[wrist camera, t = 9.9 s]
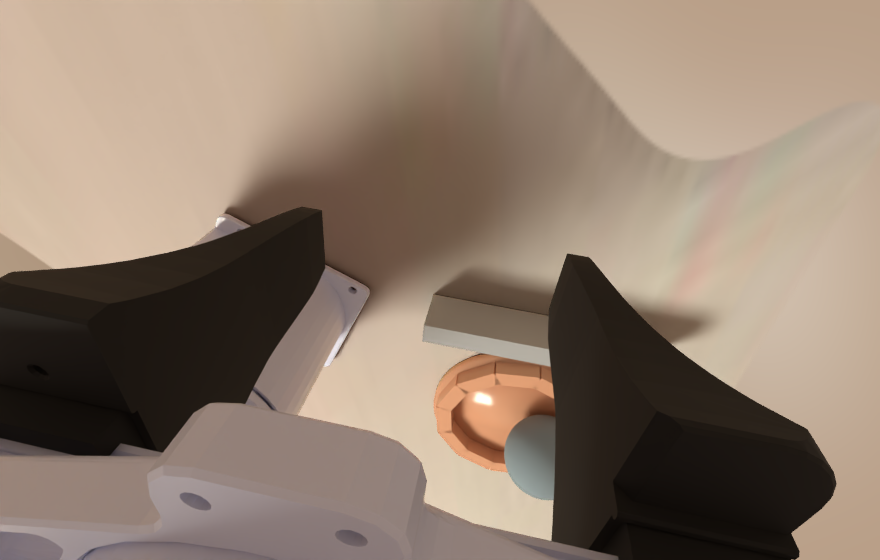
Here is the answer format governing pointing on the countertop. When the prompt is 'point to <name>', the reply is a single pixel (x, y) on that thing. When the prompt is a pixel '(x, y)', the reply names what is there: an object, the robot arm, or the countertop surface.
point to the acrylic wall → (487, 329)
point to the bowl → (489, 405)
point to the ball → (532, 456)
